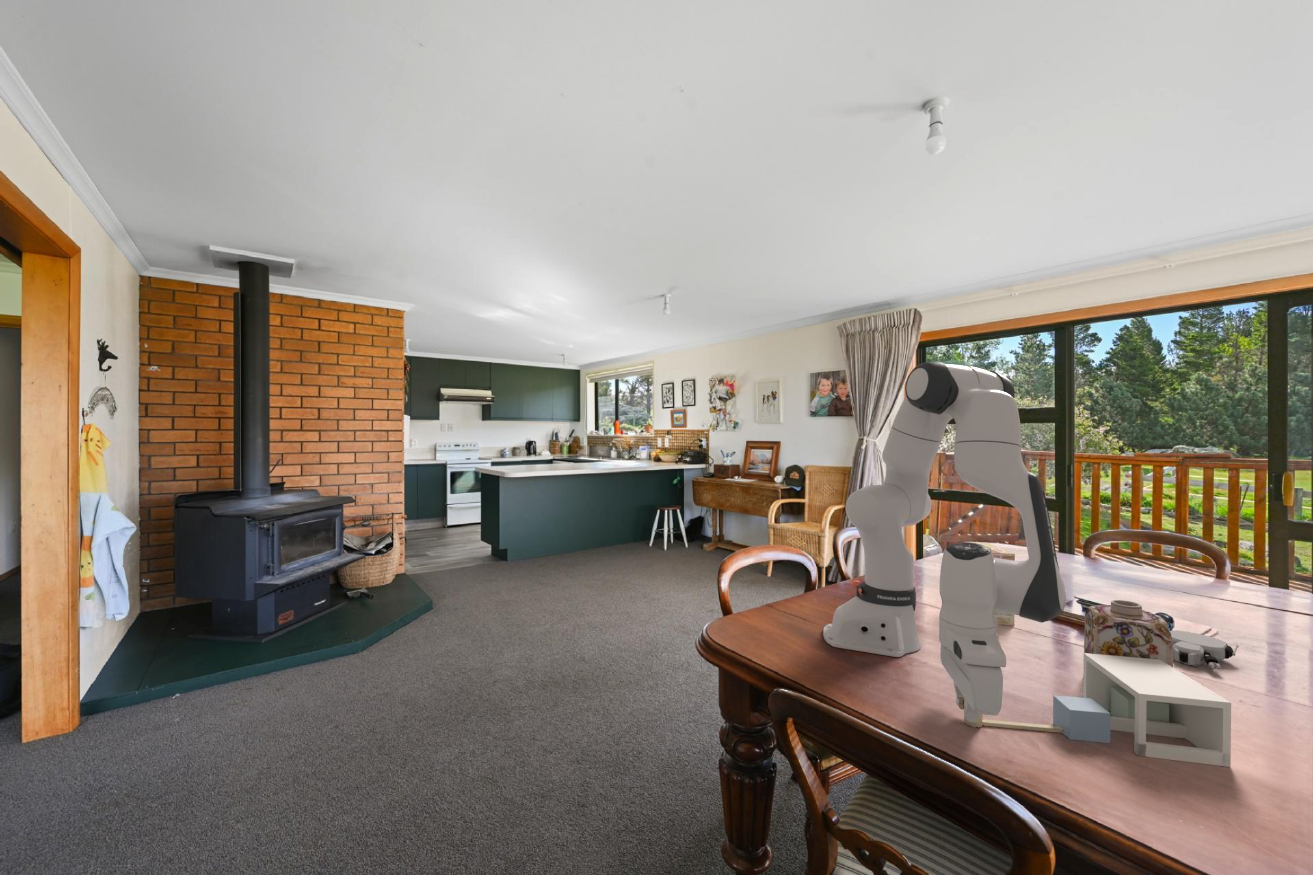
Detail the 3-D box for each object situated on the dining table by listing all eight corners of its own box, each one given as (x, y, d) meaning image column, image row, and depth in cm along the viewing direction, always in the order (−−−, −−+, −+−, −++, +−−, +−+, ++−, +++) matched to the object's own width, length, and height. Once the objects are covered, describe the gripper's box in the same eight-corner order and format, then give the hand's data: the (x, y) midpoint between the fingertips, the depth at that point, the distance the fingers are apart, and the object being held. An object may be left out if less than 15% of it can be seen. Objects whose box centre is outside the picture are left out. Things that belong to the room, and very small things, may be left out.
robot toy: (1222, 682, 112) (1239, 660, 120) (1222, 661, 111) (1239, 640, 120) (1146, 660, 122) (1166, 642, 130) (1145, 641, 122) (1166, 624, 130)
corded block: (970, 730, 92) (970, 701, 91) (959, 714, 96) (959, 687, 96) (1110, 743, 88) (1110, 713, 88) (1091, 726, 93) (1091, 698, 93)
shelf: (1138, 755, 84) (1138, 693, 84) (1083, 705, 100) (1083, 652, 100) (1230, 766, 82) (1231, 702, 81) (1158, 713, 97) (1159, 659, 97)
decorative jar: (1174, 714, 97) (1175, 616, 97) (1092, 697, 103) (1093, 605, 103) (1156, 687, 107) (1157, 599, 107) (1083, 673, 113) (1083, 590, 113)
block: (1127, 728, 92) (1128, 699, 92) (1110, 713, 97) (1110, 686, 97) (1168, 732, 91) (1169, 704, 91) (1149, 717, 96) (1149, 690, 96)
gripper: (931, 615, 105) (931, 684, 105) (966, 657, 85) (966, 743, 85) (967, 617, 103) (966, 688, 103) (1011, 661, 83) (1010, 749, 83)
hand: (966, 713), depth 94 cm, fingers closed on corded block, 3 cm apart
